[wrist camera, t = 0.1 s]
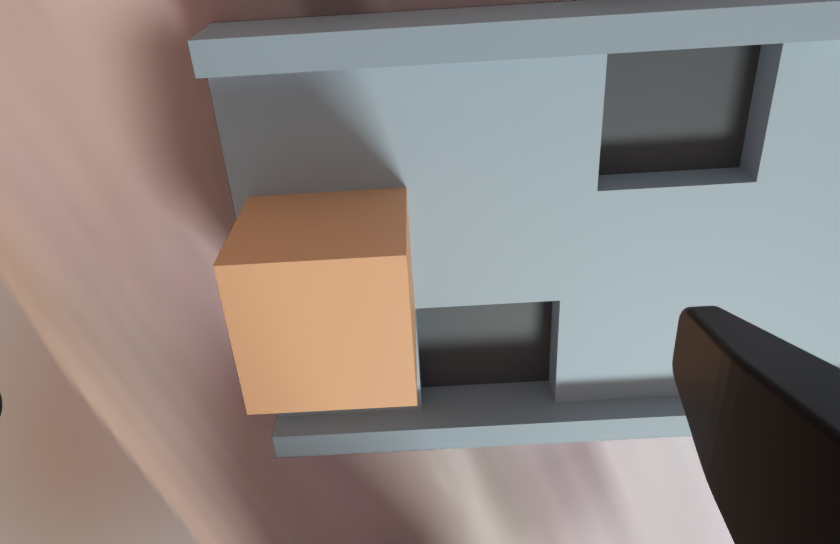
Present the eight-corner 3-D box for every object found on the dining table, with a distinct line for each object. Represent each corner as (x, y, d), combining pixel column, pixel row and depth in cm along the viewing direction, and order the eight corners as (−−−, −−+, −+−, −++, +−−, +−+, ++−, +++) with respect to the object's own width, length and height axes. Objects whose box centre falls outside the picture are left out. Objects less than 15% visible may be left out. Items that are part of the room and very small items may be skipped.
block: (415, 320, 24) (417, 405, 20) (272, 328, 24) (247, 415, 21) (406, 187, 22) (406, 255, 18) (247, 196, 22) (212, 266, 18)
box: (886, 378, 28) (928, 423, 26) (286, 411, 28) (276, 457, 26) (1025, -28, 21) (1101, -16, 18) (211, 23, 21) (187, 41, 19)
